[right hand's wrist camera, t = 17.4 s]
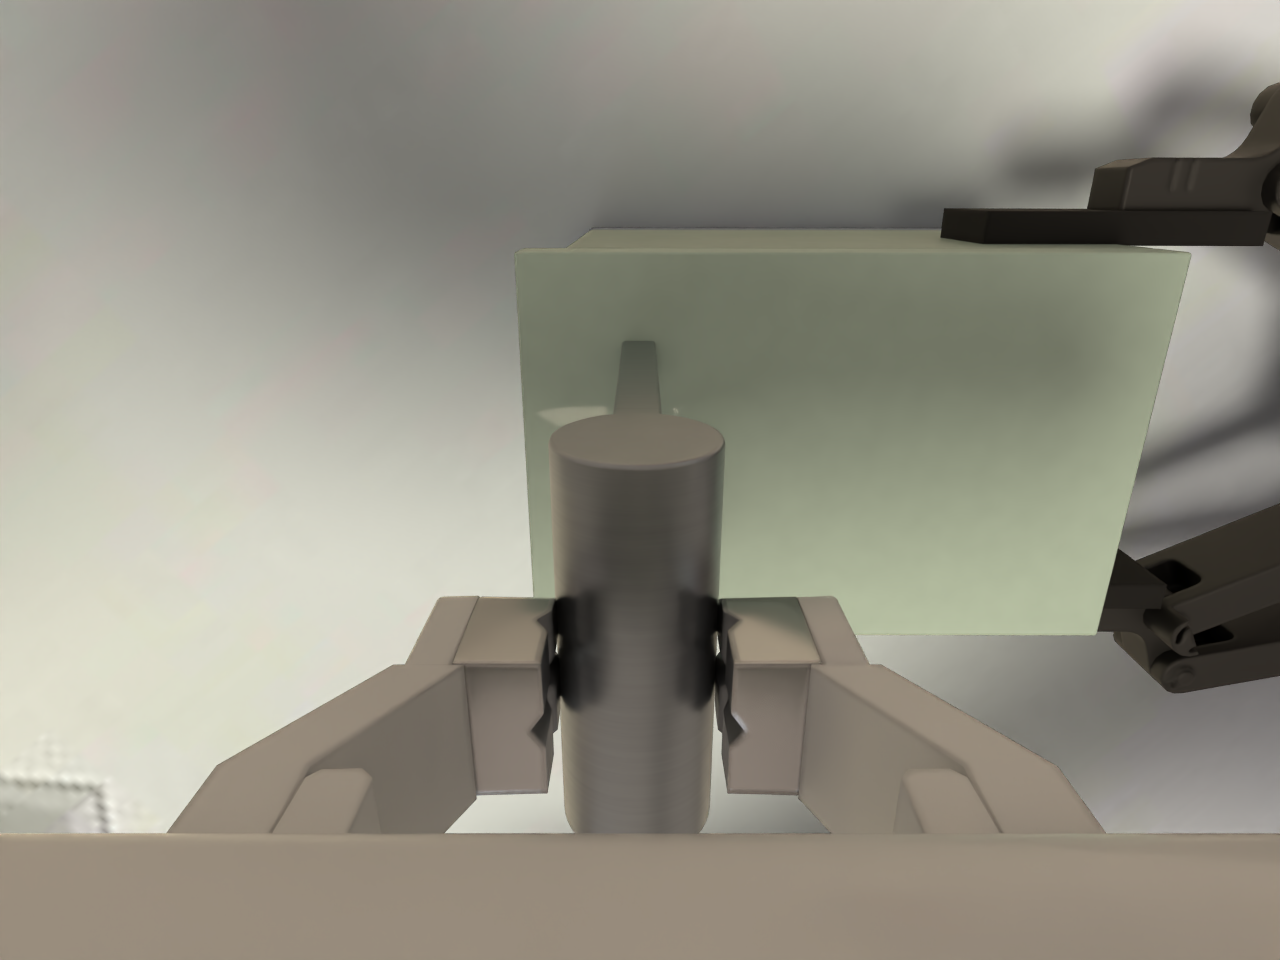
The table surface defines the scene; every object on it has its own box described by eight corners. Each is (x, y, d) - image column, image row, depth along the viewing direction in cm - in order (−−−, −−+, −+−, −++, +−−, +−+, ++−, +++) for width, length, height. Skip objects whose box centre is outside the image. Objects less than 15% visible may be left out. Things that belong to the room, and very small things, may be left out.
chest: (597, 480, 28) (575, 610, 20) (591, 227, 25) (563, 247, 16) (938, 481, 28) (1072, 612, 19) (977, 228, 25) (1157, 248, 16)
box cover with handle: (540, 611, 19) (459, 949, 11) (521, 248, 16) (385, 312, 8) (1073, 612, 19) (1419, 951, 11) (1158, 248, 16) (1749, 313, 8)
